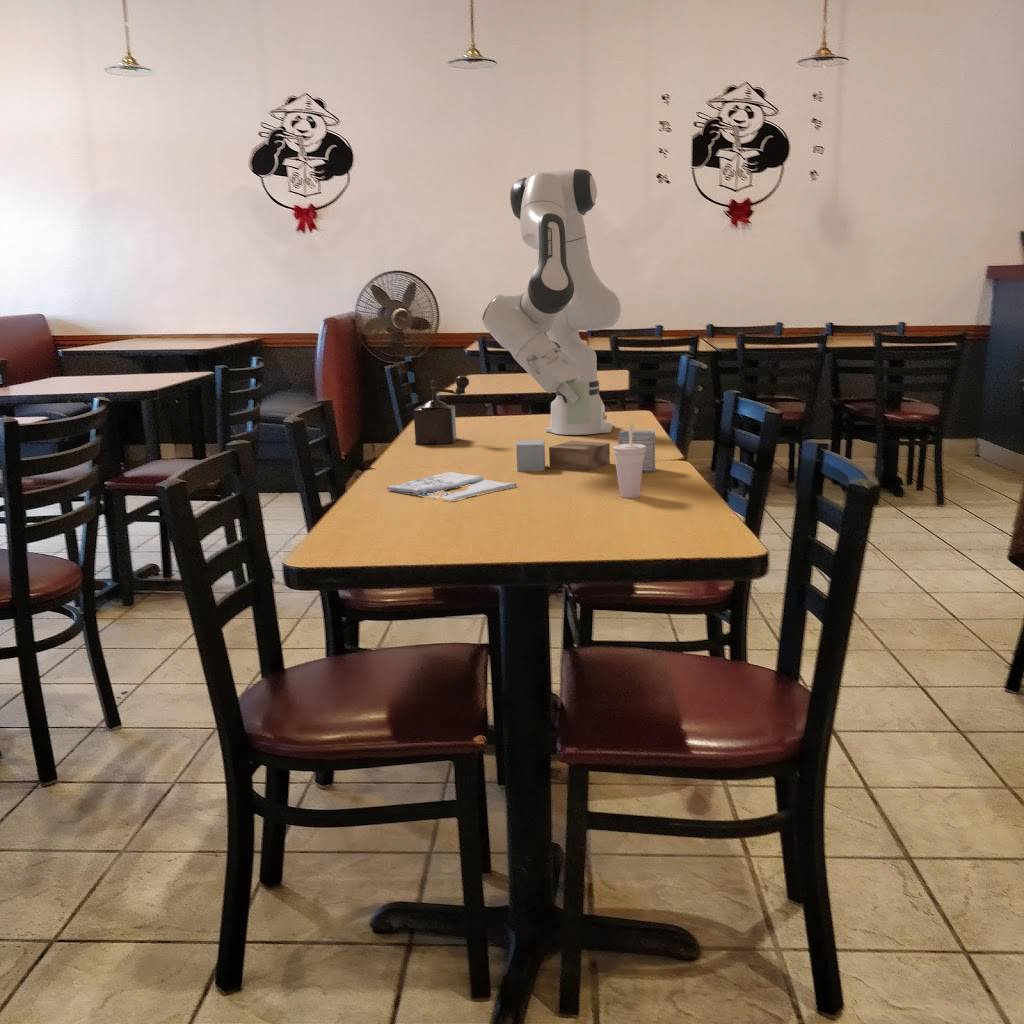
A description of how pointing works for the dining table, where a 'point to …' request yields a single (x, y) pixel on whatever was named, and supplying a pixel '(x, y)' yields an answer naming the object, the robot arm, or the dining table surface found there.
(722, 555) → the dining table surface
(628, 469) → the smoothie
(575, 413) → the sage pillar
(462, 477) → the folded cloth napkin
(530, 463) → the slate block
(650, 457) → the medicine box
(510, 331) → the robot arm
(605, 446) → the walnut block
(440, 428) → the coffee grinder
